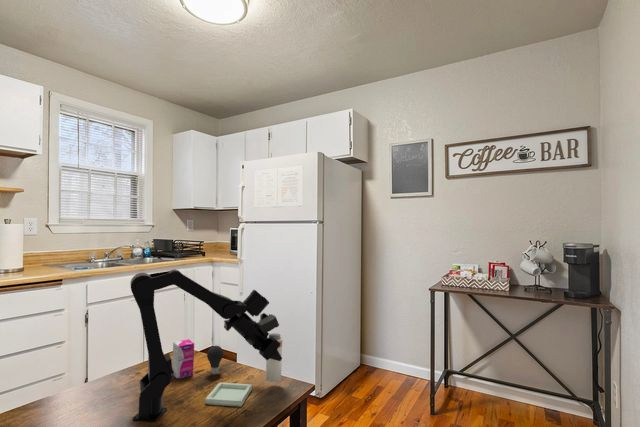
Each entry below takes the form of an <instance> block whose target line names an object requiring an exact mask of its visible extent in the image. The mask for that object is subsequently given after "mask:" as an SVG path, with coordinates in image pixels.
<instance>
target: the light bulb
mask: <svg viewBox="0 0 640 427" xmlns="http://www.w3.org/2000/svg"><path fill="white" fill-rule="evenodd" d="M206 356H207V361H208V362H209V364H210V369H211V370H210V371H211V374H212V375H214V376H215V375H217V374H218V373H219V367H220V364H221V361H222V359H223V357H224V350H223V348H222V347H221V346H220V345H213V346H211V347H209V349H208V350H207V354H206Z"/></svg>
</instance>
